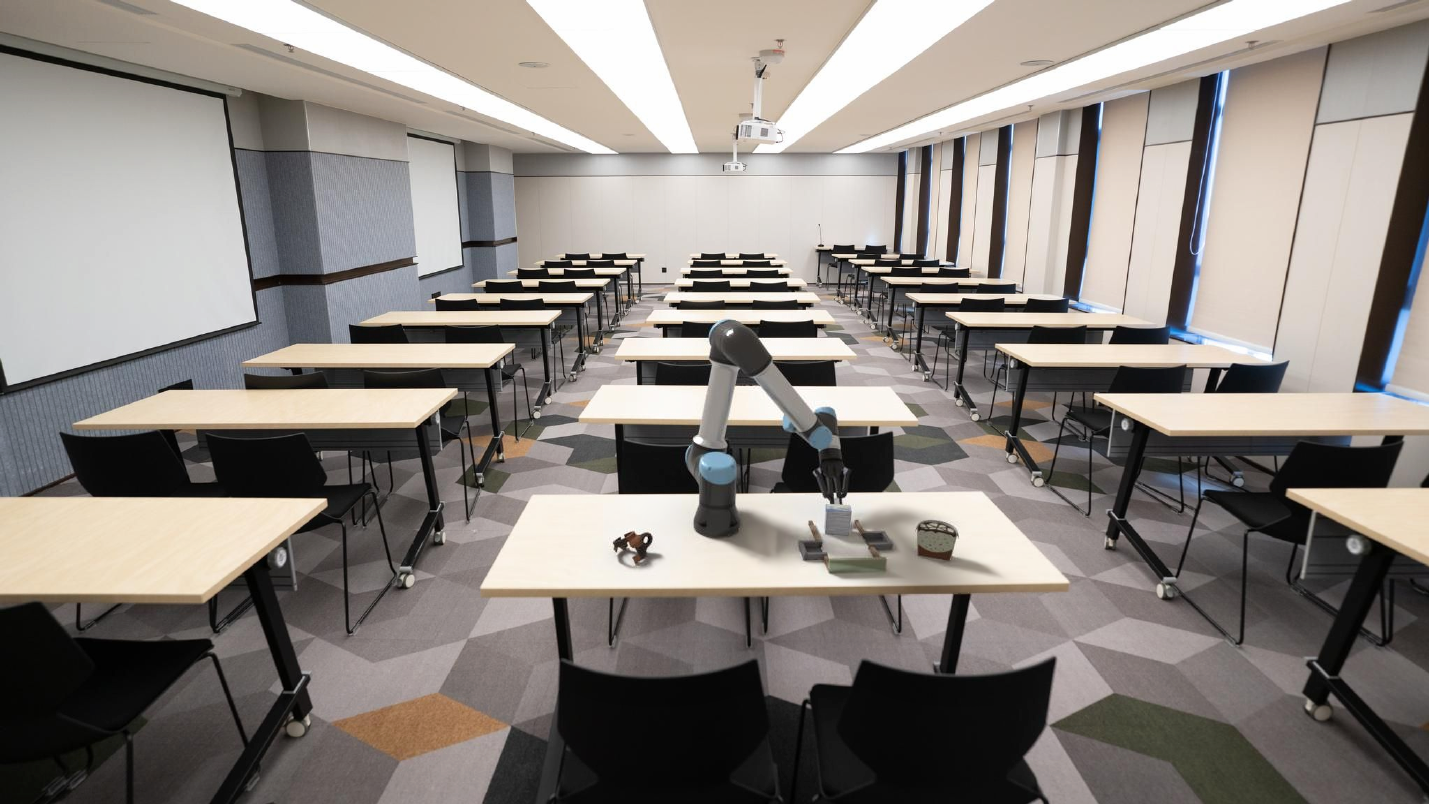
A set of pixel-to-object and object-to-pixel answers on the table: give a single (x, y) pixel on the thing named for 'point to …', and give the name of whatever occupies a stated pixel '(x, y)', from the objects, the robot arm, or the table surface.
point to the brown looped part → (634, 544)
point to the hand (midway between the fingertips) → (838, 518)
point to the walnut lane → (852, 564)
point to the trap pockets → (814, 552)
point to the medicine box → (837, 519)
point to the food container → (936, 539)
